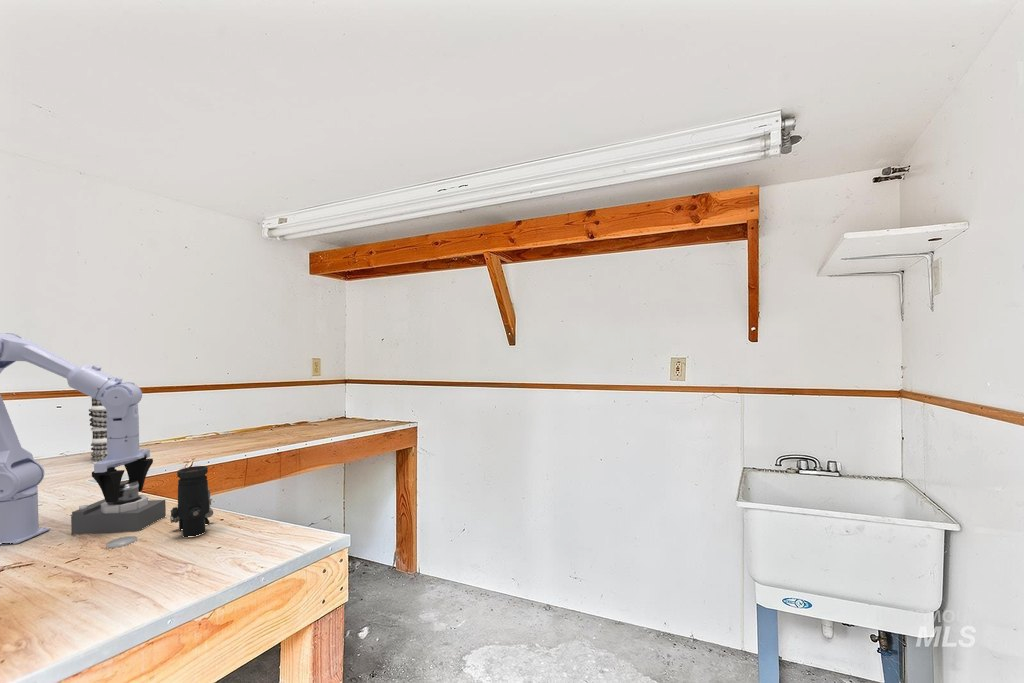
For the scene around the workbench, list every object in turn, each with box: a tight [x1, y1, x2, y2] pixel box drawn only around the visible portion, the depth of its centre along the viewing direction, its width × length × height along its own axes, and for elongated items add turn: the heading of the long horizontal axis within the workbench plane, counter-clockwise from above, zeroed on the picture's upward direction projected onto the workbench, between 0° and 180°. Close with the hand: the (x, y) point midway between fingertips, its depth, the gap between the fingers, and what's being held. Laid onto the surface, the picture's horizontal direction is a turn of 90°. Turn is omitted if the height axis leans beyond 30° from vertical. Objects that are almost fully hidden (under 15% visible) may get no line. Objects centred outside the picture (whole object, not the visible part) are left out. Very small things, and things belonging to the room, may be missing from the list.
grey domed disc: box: [105, 535, 138, 549], centre depth 100 cm, size 5×5×1 cm
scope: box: [169, 465, 214, 538], centre depth 105 cm, size 8×14×10 cm
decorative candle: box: [88, 397, 107, 465], centre depth 178 cm, size 9×9×25 cm
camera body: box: [70, 494, 167, 535], centre depth 111 cm, size 14×9×6 cm, turn 94°
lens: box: [114, 479, 140, 505], centre depth 111 cm, size 4×4×6 cm
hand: (124, 496), depth 111 cm, fingers open, 7 cm apart
